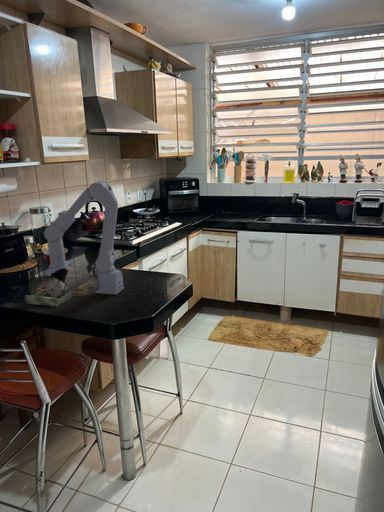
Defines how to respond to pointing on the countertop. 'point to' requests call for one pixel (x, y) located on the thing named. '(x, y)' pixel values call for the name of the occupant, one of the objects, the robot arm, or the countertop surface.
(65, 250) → the plastic cup
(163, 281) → the countertop surface
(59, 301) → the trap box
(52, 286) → the game die
